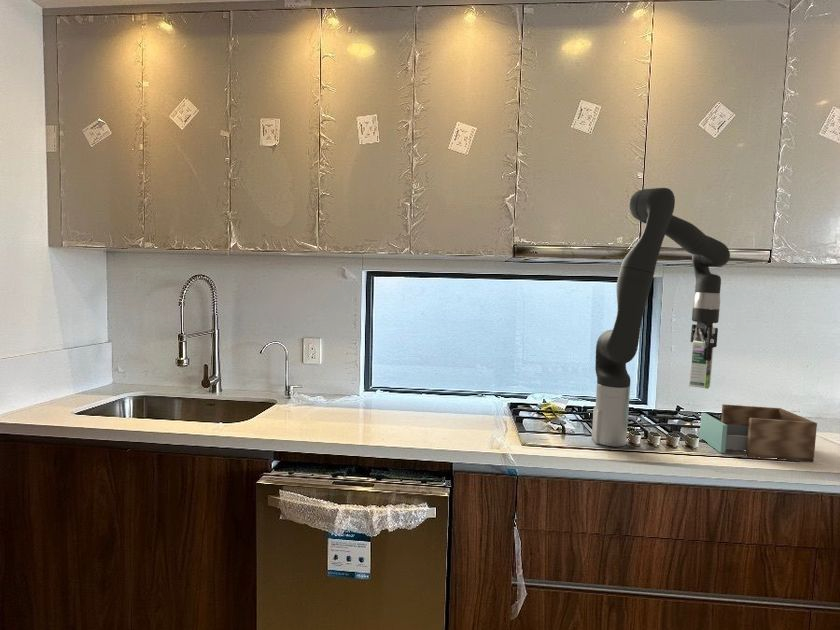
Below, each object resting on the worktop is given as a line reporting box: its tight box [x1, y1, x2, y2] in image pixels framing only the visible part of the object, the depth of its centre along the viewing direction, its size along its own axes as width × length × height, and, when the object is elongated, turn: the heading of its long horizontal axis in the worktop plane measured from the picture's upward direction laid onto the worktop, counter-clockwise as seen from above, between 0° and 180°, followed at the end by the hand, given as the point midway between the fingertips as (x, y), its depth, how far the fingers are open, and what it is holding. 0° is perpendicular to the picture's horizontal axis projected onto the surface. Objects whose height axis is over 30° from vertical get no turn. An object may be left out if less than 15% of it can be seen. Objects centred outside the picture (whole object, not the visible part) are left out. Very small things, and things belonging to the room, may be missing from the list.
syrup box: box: [688, 341, 714, 390], centre depth 170 cm, size 6×6×14 cm
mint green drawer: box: [699, 412, 749, 454], centre depth 158 cm, size 14×15×8 cm
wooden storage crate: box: [720, 404, 818, 463], centre depth 157 cm, size 17×18×11 cm
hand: (701, 358), depth 170 cm, fingers closed on syrup box, 7 cm apart
